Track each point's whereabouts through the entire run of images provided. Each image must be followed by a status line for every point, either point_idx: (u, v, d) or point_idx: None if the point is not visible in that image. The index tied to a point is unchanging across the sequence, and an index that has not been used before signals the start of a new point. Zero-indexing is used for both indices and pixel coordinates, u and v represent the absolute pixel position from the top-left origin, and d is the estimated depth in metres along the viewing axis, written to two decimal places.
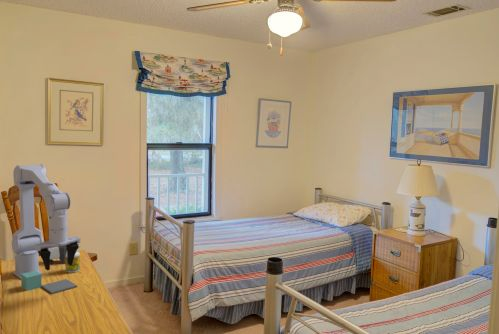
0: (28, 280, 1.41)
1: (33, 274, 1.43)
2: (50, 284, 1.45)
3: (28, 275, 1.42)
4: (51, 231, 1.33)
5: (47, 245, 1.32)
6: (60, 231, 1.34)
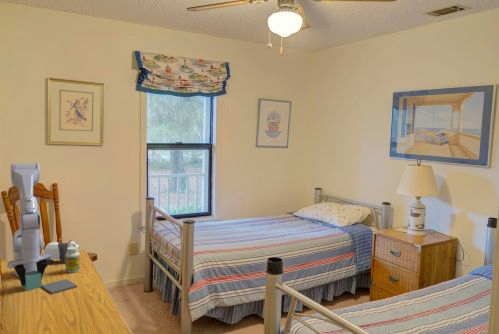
0: (28, 280, 1.41)
1: (33, 274, 1.43)
2: (50, 284, 1.45)
3: (28, 275, 1.42)
4: (23, 249, 1.40)
5: (19, 263, 1.39)
6: (32, 249, 1.40)
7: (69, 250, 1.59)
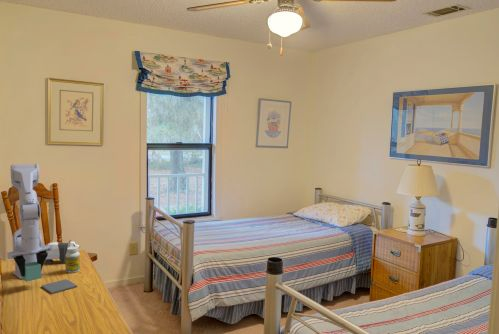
0: (28, 271, 1.40)
1: (33, 265, 1.43)
2: (50, 284, 1.45)
3: (28, 266, 1.42)
4: (23, 240, 1.40)
5: (19, 253, 1.38)
6: (32, 240, 1.40)
7: (69, 250, 1.59)
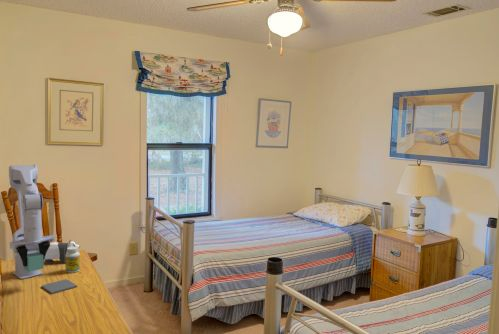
0: (30, 261, 1.40)
1: (35, 255, 1.43)
2: (50, 284, 1.45)
3: (30, 256, 1.42)
4: (25, 230, 1.39)
5: (21, 243, 1.38)
6: (34, 230, 1.40)
7: (69, 250, 1.59)
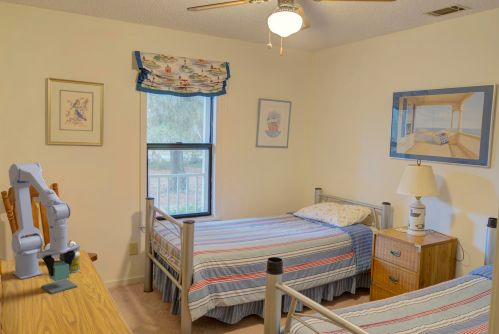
0: (57, 271, 1.41)
1: (61, 264, 1.44)
2: (50, 284, 1.45)
3: (56, 265, 1.42)
4: (52, 240, 1.40)
5: (48, 253, 1.39)
6: (60, 240, 1.41)
7: None
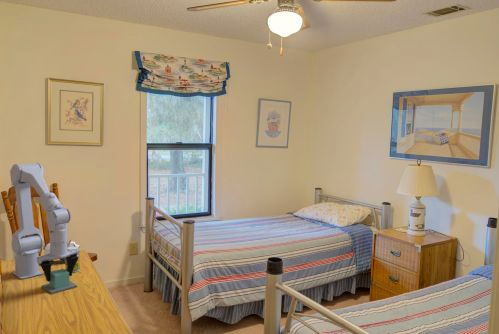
0: (57, 278, 1.41)
1: (61, 272, 1.44)
2: None
3: (56, 273, 1.43)
4: (52, 244, 1.41)
5: (48, 258, 1.39)
6: (60, 244, 1.41)
7: None
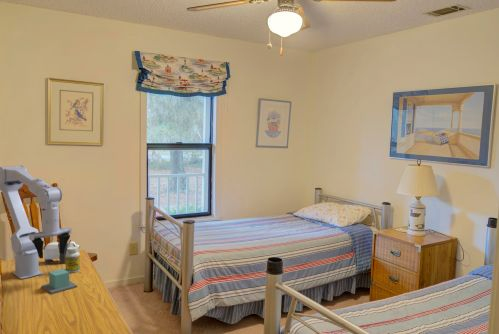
0: (57, 278, 1.41)
1: (61, 272, 1.44)
2: None
3: (56, 273, 1.43)
4: (44, 222, 1.44)
5: (40, 235, 1.43)
6: (52, 222, 1.45)
7: (69, 250, 1.59)
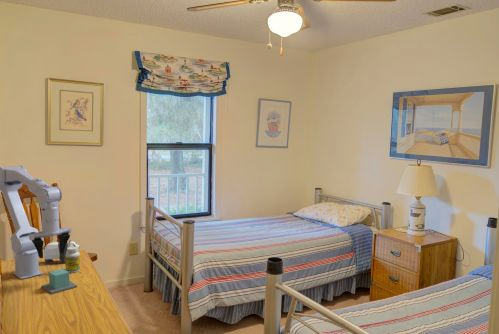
0: (57, 278, 1.41)
1: (61, 272, 1.44)
2: None
3: (56, 273, 1.43)
4: (44, 222, 1.44)
5: (40, 235, 1.43)
6: (52, 222, 1.45)
7: (69, 250, 1.59)
